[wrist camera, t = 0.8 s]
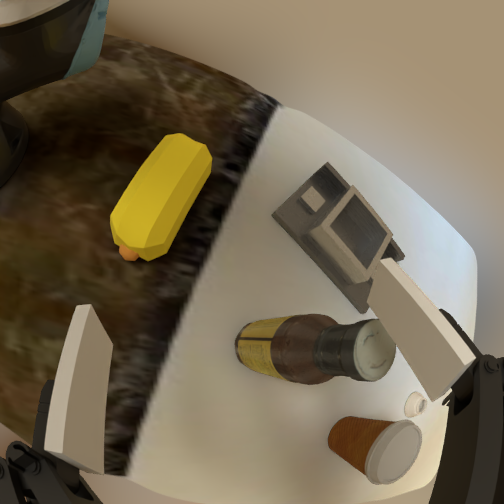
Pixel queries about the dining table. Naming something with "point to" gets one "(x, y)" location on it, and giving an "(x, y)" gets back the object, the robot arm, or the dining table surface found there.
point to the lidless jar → (415, 405)
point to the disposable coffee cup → (377, 446)
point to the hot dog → (160, 197)
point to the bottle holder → (339, 232)
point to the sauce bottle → (316, 348)
